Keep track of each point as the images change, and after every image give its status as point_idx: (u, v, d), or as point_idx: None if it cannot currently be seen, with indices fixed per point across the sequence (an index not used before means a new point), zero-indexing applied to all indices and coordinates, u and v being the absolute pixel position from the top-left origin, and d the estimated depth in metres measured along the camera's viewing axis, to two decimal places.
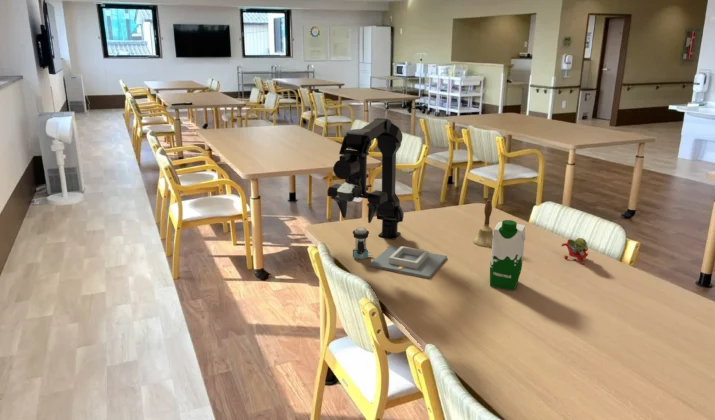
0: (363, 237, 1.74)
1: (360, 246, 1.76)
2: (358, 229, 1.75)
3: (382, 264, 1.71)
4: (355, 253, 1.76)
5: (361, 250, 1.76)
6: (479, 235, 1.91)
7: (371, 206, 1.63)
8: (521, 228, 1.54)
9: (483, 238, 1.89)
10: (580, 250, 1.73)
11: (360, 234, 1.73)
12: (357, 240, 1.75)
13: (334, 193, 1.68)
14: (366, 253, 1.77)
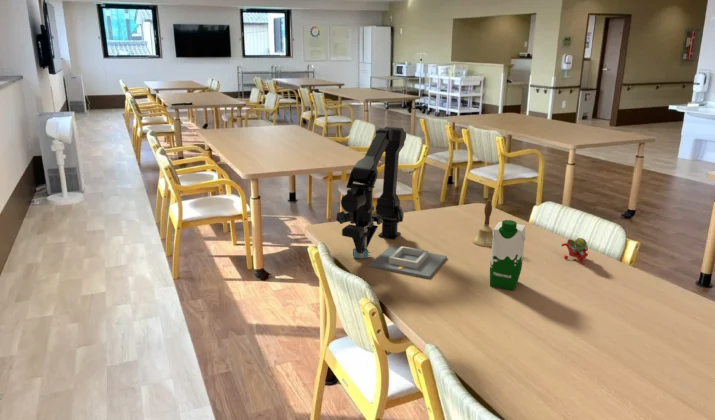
0: None
1: None
2: None
3: (382, 264, 1.71)
4: (355, 252, 1.76)
5: None
6: (479, 235, 1.91)
7: None
8: (521, 228, 1.54)
9: (483, 238, 1.89)
10: (580, 250, 1.73)
11: None
12: None
13: None
14: (366, 252, 1.77)
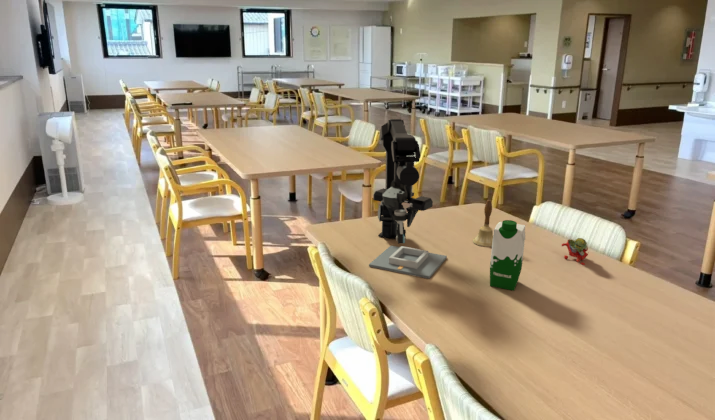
0: None
1: None
2: (400, 211, 1.69)
3: (382, 264, 1.71)
4: None
5: (405, 231, 1.71)
6: (479, 235, 1.91)
7: (410, 210, 1.65)
8: (521, 228, 1.54)
9: (483, 238, 1.89)
10: (580, 250, 1.73)
11: (407, 214, 1.69)
12: None
13: (380, 197, 1.70)
14: None
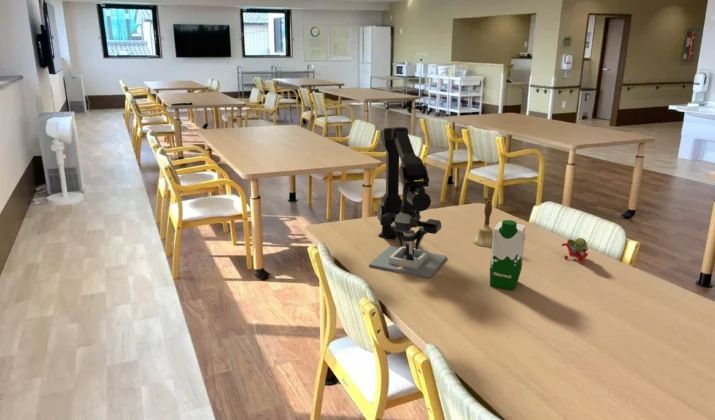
0: None
1: None
2: (410, 232, 1.70)
3: (382, 264, 1.71)
4: None
5: None
6: (479, 235, 1.91)
7: (420, 234, 1.68)
8: (521, 228, 1.54)
9: (483, 238, 1.89)
10: (580, 250, 1.73)
11: (415, 234, 1.71)
12: None
13: (388, 222, 1.71)
14: None
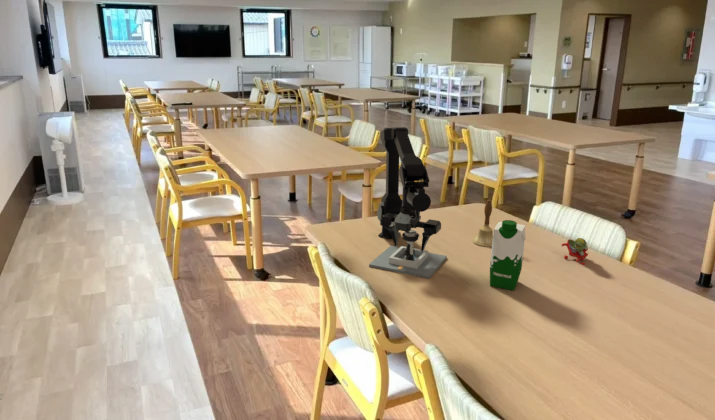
0: None
1: None
2: (412, 232, 1.70)
3: (382, 264, 1.71)
4: None
5: None
6: (479, 235, 1.91)
7: (426, 235, 1.67)
8: (521, 228, 1.54)
9: (483, 238, 1.89)
10: (580, 250, 1.73)
11: (417, 234, 1.71)
12: None
13: (388, 223, 1.71)
14: None
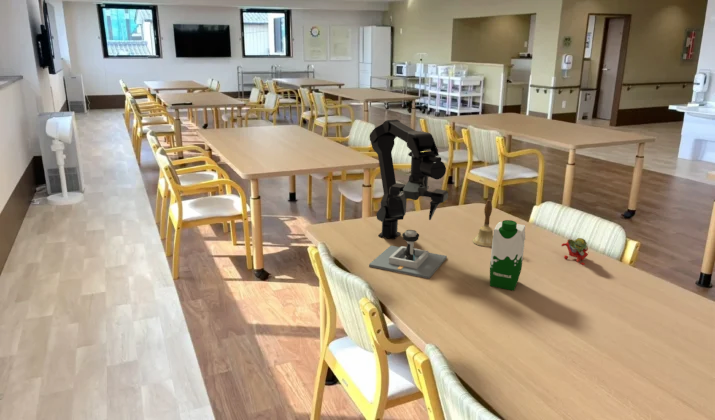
0: None
1: None
2: (412, 232, 1.70)
3: (382, 264, 1.71)
4: None
5: None
6: (479, 235, 1.91)
7: (434, 204, 1.73)
8: (521, 228, 1.54)
9: (483, 238, 1.89)
10: (580, 250, 1.73)
11: (417, 234, 1.71)
12: None
13: (397, 192, 1.77)
14: None
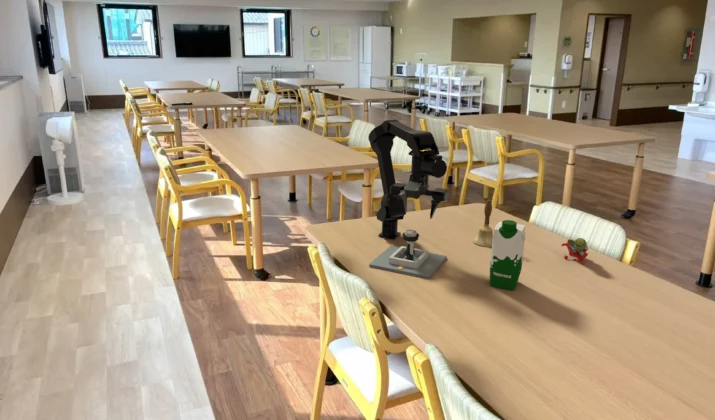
0: None
1: None
2: (412, 232, 1.70)
3: (382, 264, 1.71)
4: None
5: None
6: (479, 235, 1.91)
7: (435, 203, 1.73)
8: (521, 228, 1.54)
9: (483, 238, 1.89)
10: (580, 250, 1.73)
11: (417, 234, 1.71)
12: None
13: (397, 191, 1.77)
14: None
